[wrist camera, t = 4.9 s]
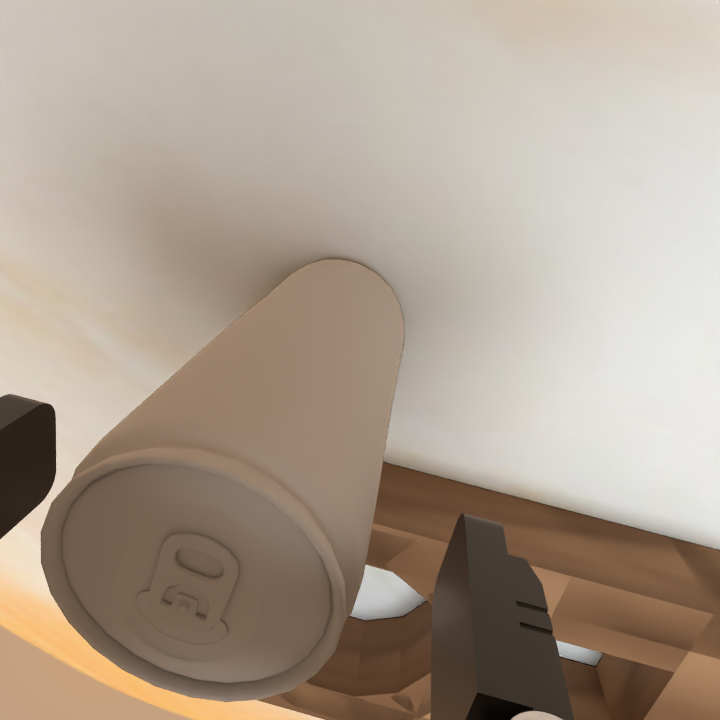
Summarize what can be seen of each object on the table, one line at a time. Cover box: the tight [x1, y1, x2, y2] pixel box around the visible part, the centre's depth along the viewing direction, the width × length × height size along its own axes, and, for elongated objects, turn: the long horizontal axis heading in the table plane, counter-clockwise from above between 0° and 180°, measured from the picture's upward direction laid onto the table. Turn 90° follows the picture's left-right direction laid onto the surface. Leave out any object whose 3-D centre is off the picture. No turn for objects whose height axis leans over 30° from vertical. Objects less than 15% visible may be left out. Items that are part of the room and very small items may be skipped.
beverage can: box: [41, 259, 404, 702], centre depth 13 cm, size 5×5×12 cm
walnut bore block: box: [259, 463, 720, 720], centre depth 21 cm, size 10×18×4 cm, turn 78°
